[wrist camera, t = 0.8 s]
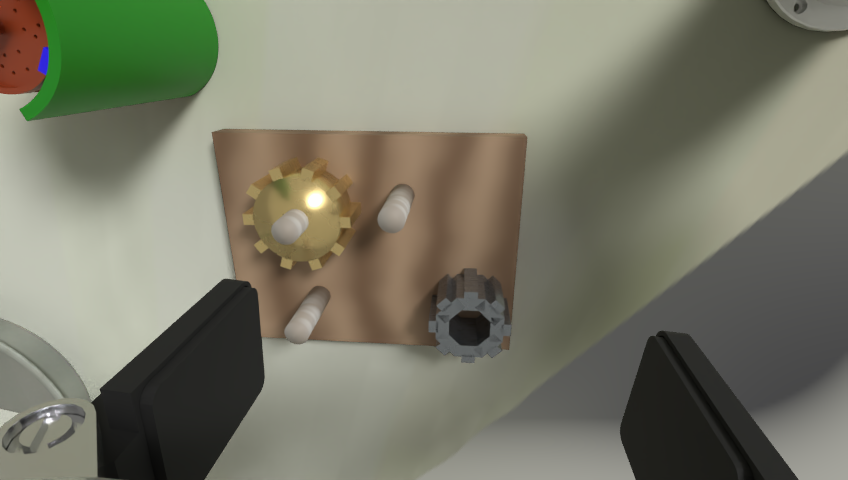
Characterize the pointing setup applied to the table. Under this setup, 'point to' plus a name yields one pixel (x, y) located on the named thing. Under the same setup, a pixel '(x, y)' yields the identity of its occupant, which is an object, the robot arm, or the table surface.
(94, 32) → the motor
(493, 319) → the steel gear
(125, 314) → the table surface
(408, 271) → the board
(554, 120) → the table surface
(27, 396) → the cake pan
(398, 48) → the table surface
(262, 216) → the brass gear
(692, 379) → the robot arm
